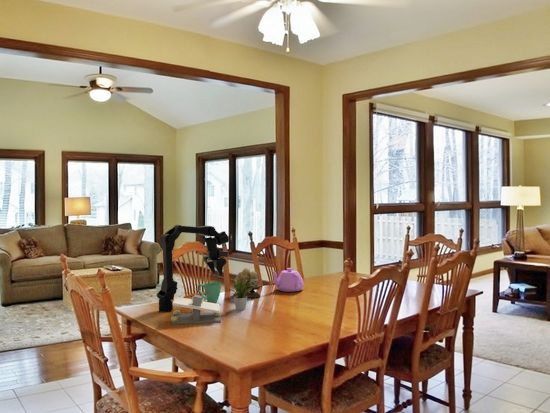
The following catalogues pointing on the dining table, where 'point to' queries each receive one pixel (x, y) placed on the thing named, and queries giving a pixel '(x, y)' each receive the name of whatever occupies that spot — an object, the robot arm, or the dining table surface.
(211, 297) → the mug
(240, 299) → the house plant
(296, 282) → the teapot
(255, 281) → the bushy plant
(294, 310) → the dining table surface
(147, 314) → the dining table surface
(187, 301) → the deck
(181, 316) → the stand
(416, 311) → the dining table surface
